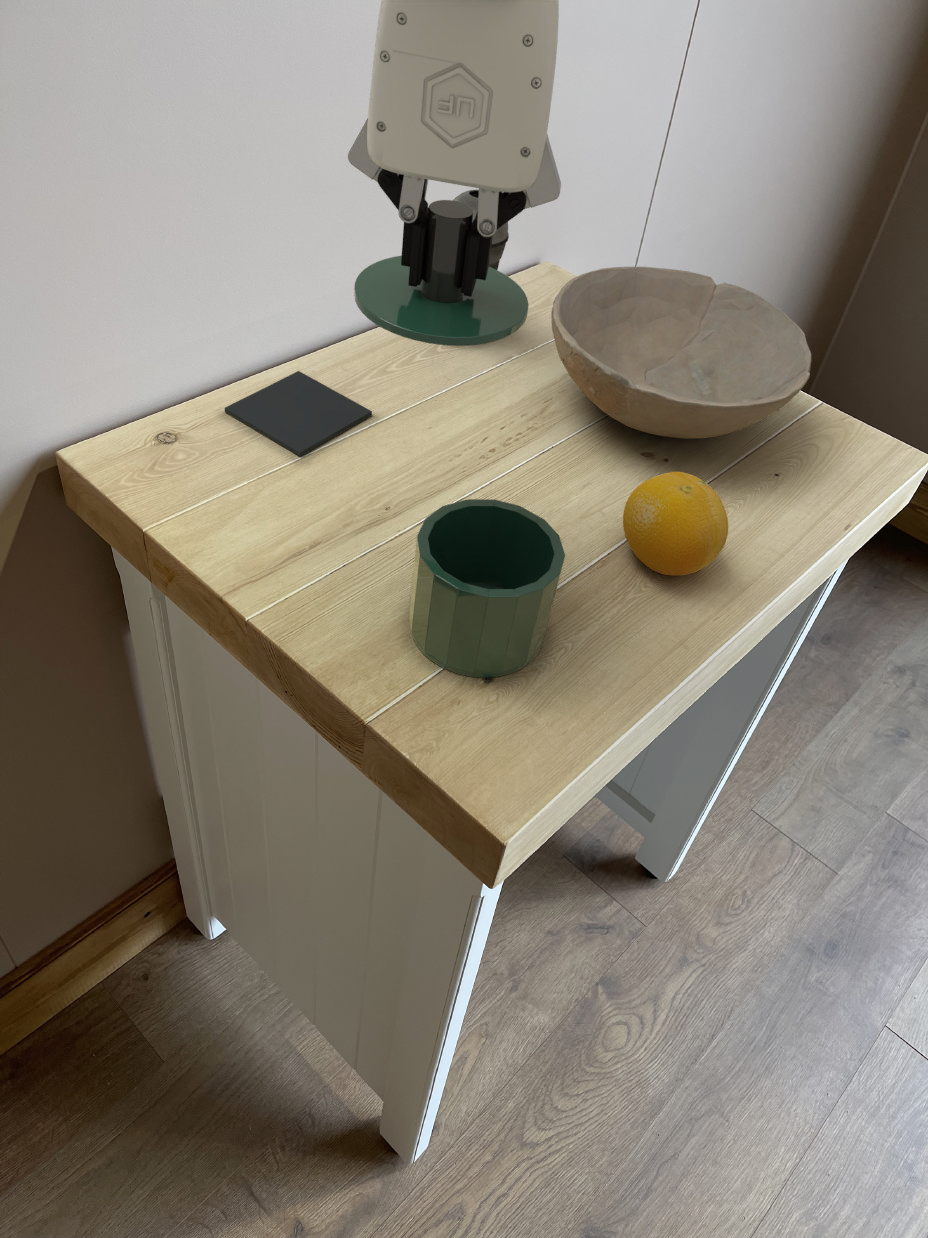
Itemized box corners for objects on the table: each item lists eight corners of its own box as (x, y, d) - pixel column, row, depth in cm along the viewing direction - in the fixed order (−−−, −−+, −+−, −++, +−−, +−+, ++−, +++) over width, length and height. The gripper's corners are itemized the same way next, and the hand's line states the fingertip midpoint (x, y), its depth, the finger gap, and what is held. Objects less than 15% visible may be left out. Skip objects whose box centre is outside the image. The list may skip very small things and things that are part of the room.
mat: (224, 412, 88) (224, 407, 88) (298, 374, 95) (298, 370, 94) (300, 457, 85) (300, 452, 85) (371, 415, 91) (372, 410, 91)
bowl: (816, 411, 101) (854, 328, 94) (716, 524, 85) (752, 433, 78) (612, 322, 110) (632, 240, 103) (486, 408, 94) (500, 318, 87)
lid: (317, 303, 60) (317, 199, 56) (429, 255, 67) (437, 159, 63) (454, 374, 56) (467, 269, 51) (558, 315, 63) (578, 217, 58)
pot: (381, 628, 71) (387, 545, 65) (464, 562, 77) (476, 481, 71) (491, 700, 67) (508, 620, 61) (568, 625, 74) (591, 545, 68)
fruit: (728, 566, 81) (759, 494, 75) (676, 607, 76) (705, 533, 71) (648, 515, 85) (672, 443, 79) (594, 551, 80) (616, 477, 75)
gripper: (305, -74, 45) (307, 285, 58) (634, -17, 45) (561, 331, 58) (341, -96, 50) (335, 237, 63) (635, -46, 50) (568, 279, 63)
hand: (443, 279), depth 60 cm, fingers closed on lid, 2 cm apart
